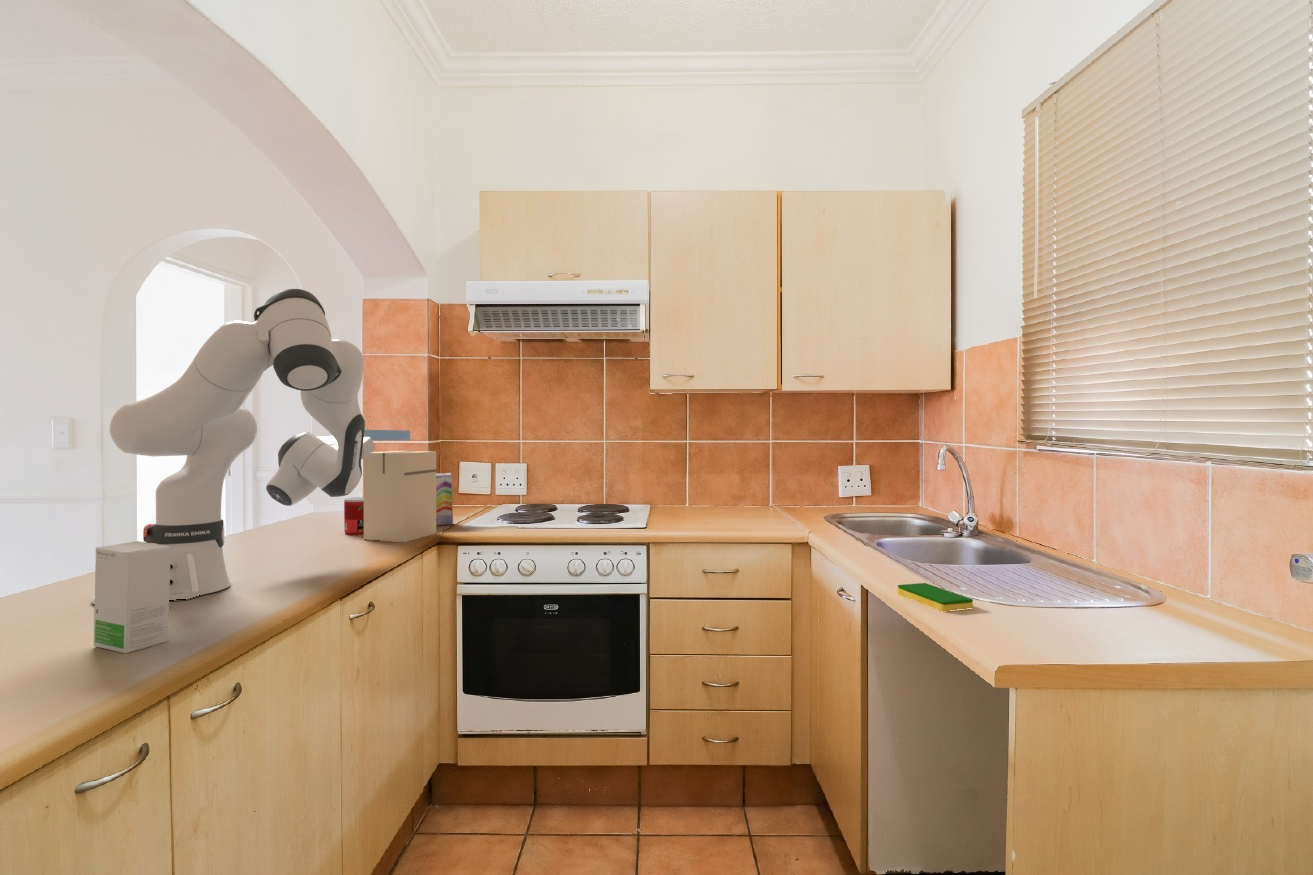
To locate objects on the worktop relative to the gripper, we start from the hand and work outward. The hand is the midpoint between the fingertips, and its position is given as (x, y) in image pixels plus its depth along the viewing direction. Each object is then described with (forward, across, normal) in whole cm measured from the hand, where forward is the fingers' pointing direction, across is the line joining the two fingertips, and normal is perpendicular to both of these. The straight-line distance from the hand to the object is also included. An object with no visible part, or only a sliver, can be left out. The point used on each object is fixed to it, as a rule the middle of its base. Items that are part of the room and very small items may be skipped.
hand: (354, 432), depth 180 cm
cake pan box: (+20, +7, +49) cm, 53 cm away
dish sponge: (-26, -147, +23) cm, 151 cm away
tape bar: (+7, 0, +7) cm, 10 cm away
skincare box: (-81, -21, -9) cm, 84 cm away
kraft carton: (+2, +1, +38) cm, 38 cm away
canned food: (+3, +18, +39) cm, 43 cm away
